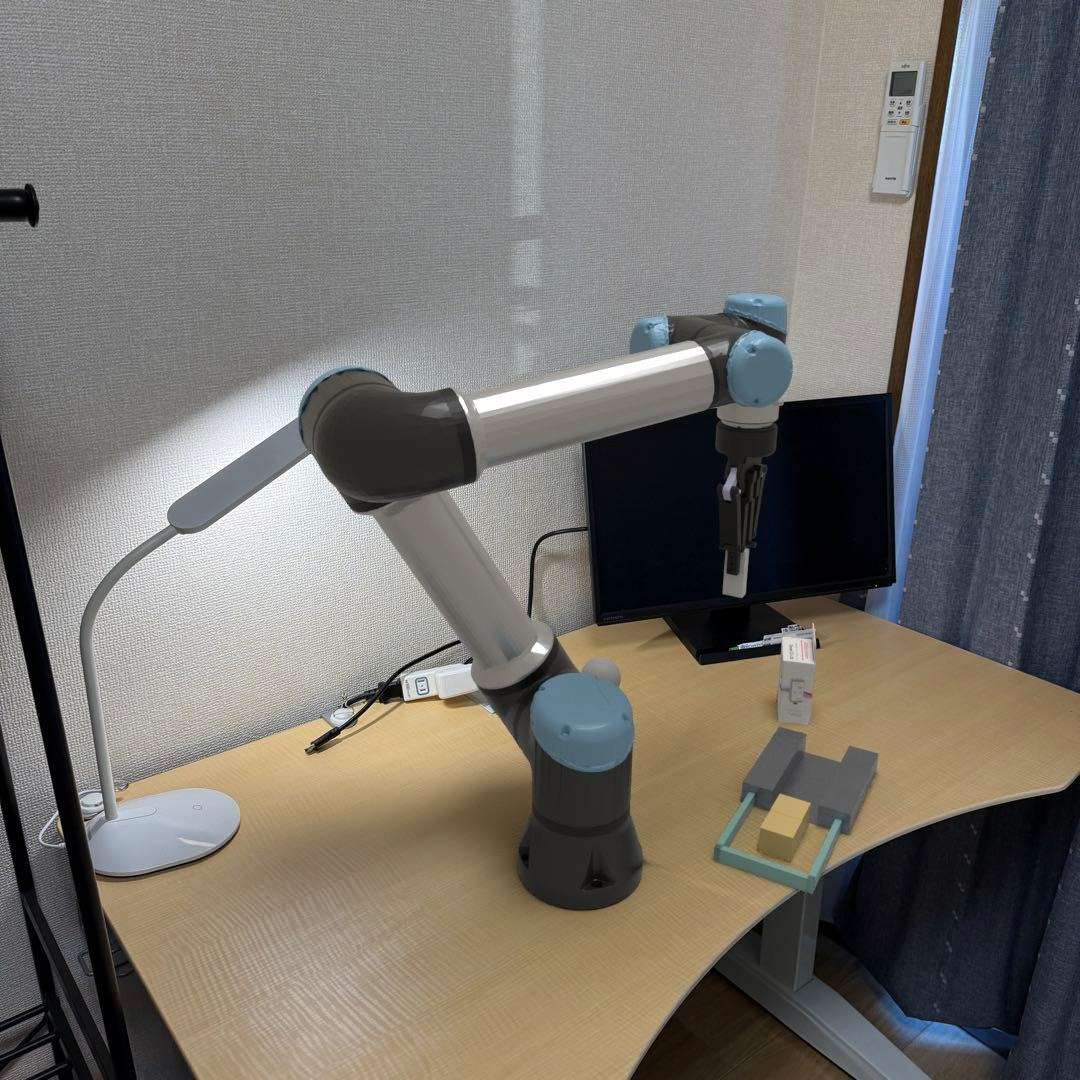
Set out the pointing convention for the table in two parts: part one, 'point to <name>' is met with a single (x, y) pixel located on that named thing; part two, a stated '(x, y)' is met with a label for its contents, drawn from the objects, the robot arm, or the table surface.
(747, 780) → the slot board
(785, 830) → the tan wooden cube
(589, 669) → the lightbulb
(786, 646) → the ink cartridge box
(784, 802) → the beige wooden block
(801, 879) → the teal u-shaped bar frame
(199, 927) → the table surface
